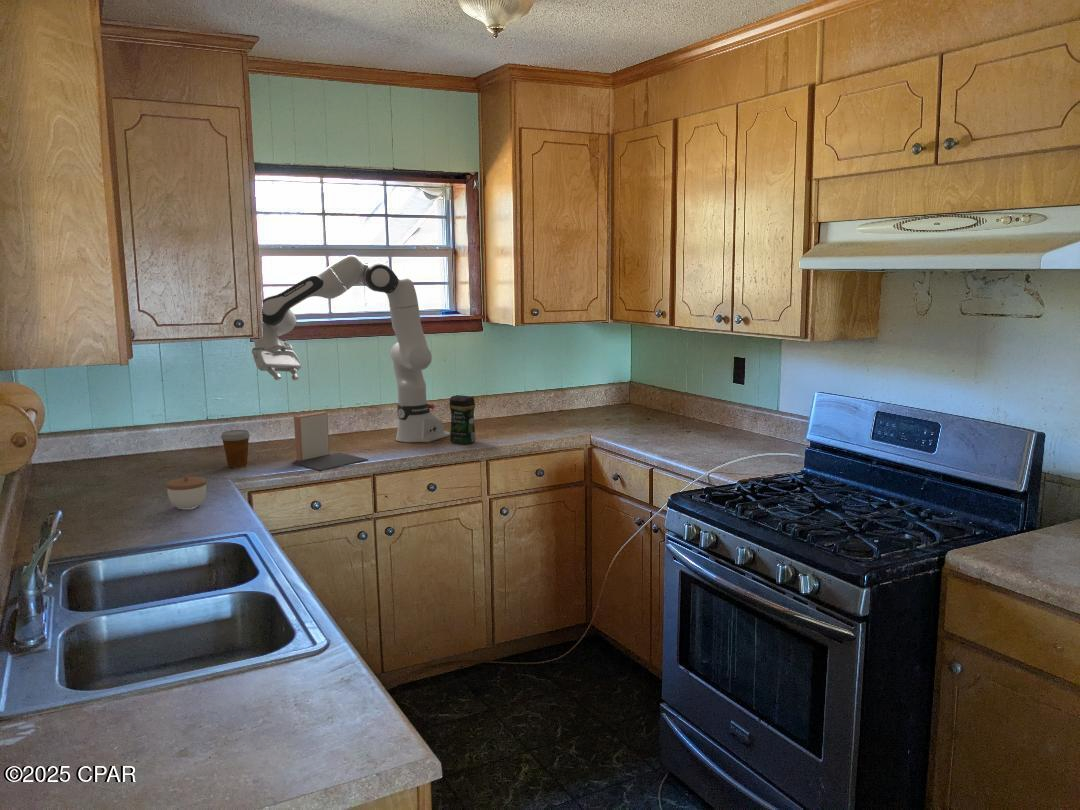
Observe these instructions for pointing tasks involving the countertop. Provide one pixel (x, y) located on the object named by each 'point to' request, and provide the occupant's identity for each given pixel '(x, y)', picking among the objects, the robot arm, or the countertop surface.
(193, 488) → the lidded jar
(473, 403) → the coffee jar
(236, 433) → the disposable coffee cup
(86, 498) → the countertop surface
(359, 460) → the mat
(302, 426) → the tile
